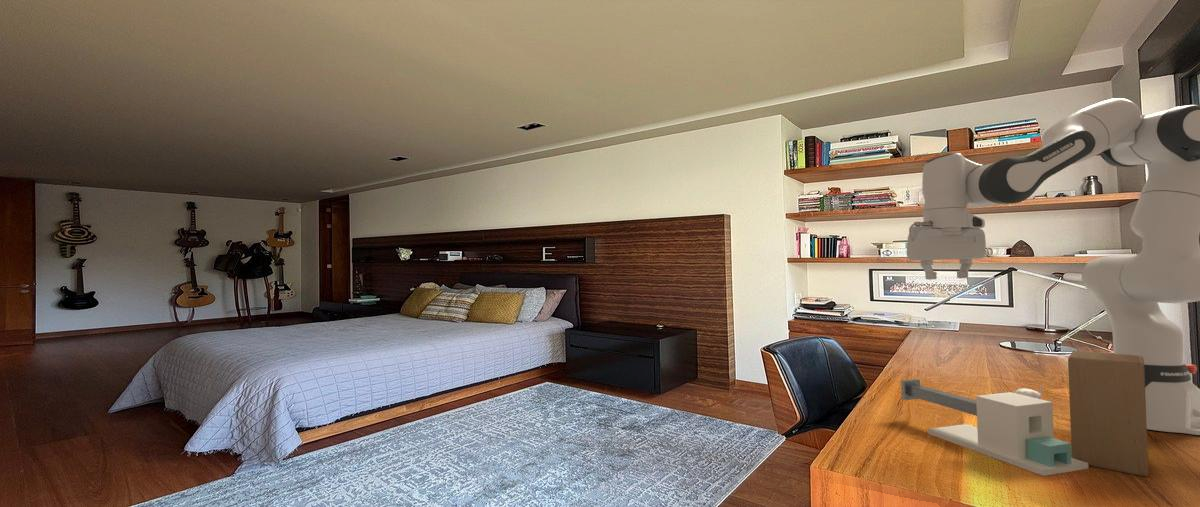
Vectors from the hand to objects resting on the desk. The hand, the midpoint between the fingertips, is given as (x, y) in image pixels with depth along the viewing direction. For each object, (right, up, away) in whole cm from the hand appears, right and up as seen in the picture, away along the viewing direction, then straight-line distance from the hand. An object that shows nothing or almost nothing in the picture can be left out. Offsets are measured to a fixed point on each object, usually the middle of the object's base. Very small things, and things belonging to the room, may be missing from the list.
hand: (947, 278), depth 124 cm
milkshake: (+14, -34, -8) cm, 37 cm away
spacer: (0, -31, -28) cm, 41 cm away
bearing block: (-2, -34, -19) cm, 39 cm away
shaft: (-4, -29, -9) cm, 31 cm away
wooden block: (+13, -34, -26) cm, 45 cm away
